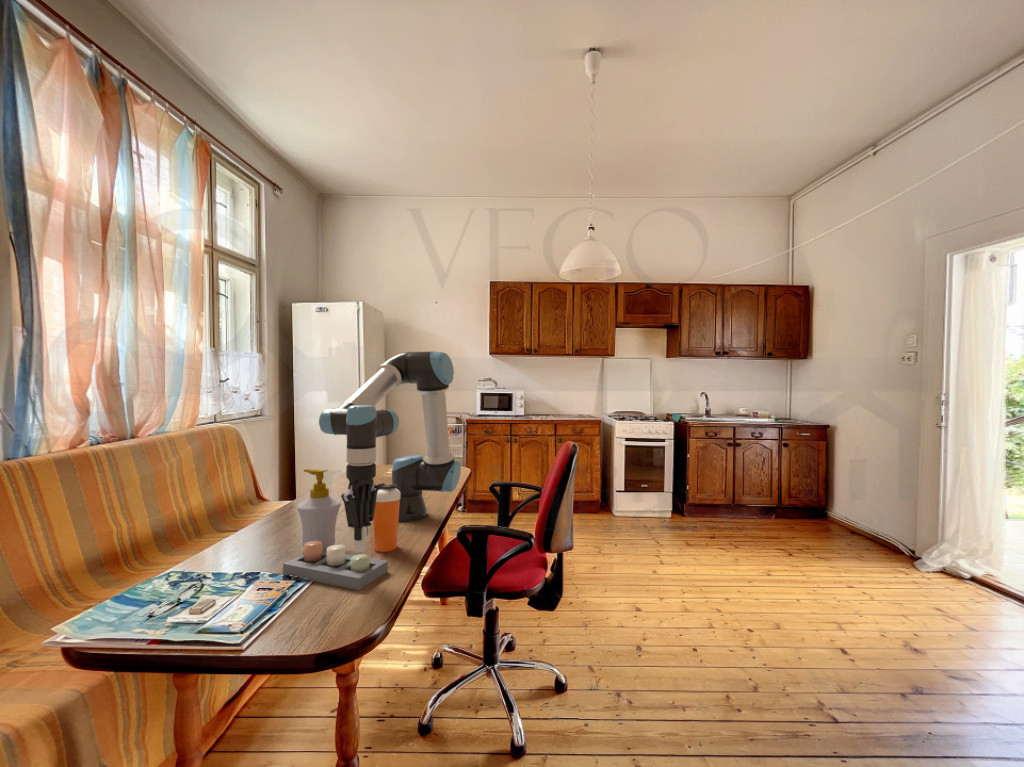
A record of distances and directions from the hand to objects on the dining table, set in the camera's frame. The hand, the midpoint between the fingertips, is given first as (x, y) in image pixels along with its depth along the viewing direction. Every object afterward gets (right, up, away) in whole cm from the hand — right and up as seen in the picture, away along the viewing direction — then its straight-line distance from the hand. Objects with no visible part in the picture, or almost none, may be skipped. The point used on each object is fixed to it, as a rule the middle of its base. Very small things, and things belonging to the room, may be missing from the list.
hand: (360, 550), depth 122 cm
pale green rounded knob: (0, -6, 0) cm, 6 cm away
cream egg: (-8, -4, +3) cm, 9 cm away
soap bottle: (-20, -7, +21) cm, 30 cm away
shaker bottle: (+1, -7, +22) cm, 23 cm away
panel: (-8, -7, +3) cm, 11 cm away
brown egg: (-15, -4, +5) cm, 16 cm away
